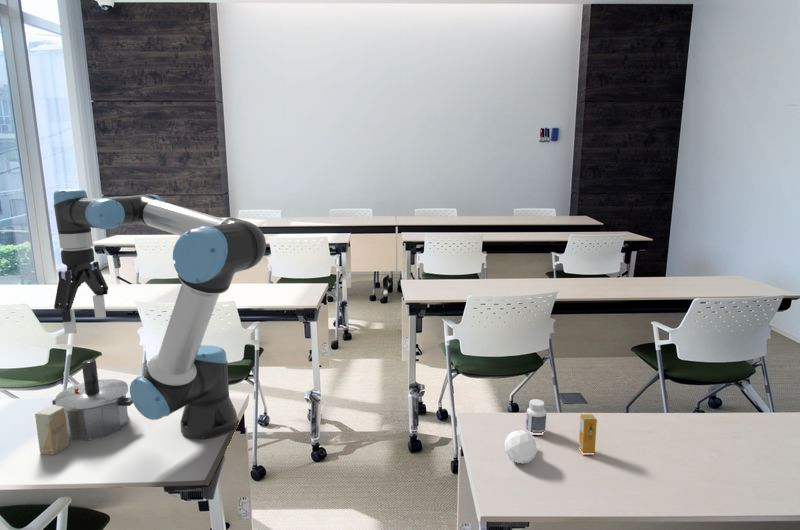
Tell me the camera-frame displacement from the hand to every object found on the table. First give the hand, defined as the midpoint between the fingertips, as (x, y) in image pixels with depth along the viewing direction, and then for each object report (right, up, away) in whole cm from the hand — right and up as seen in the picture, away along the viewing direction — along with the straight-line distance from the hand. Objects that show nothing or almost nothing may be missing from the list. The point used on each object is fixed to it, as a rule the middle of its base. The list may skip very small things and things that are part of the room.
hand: (86, 325), depth 143 cm
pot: (-1, -29, +6) cm, 30 cm away
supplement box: (+134, -32, -7) cm, 138 cm away
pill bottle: (+124, -30, +3) cm, 127 cm away
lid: (-1, -20, +4) cm, 21 cm away
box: (-5, -32, -6) cm, 33 cm away
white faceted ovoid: (+117, -33, -9) cm, 122 cm away
